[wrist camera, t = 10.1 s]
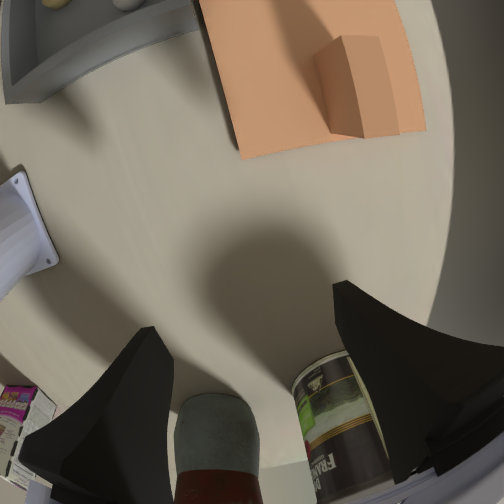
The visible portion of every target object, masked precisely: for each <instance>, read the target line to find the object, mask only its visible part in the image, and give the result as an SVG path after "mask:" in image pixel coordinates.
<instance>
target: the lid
mask: <svg viewBox="0 0 504 504" xmlns="http://www.w3.org/2000/svg"><path fill="white" fill-rule="evenodd" d="M199 2H200V6H201V10H202V13H203V17H204V20H205V24H206V27H207V31H208V35H209V38H210V42H211V45H212V49H213V53H214V56H215V60H216V64H217V67H218V71H219V75H220V79H221V82H222V86H223V90H224V93H225V97H226V101H227V105H228V109H229V112H230V116H231V120H232V124H233V128H234V131H235V135H236V139H237V143H238V147H239V151H240V155H241V159H242V160H244V159H249V158H253V157H257V156H261V155H266V154H270V153H274V152H279V151H284V150H289V149H294V148H299V147H304V146H309V145H315V144H320V143H326V142H332V141H338V140H345V139H352V138H364V139H366V138H373V137H382V136H391V135H400V133H403V132H415V131H426V125H425V118H424V111H423V105H422V99H421V93H420V88H419V83H418V78H417V74H416V69H415V65H414V61H413V57H412V53H411V50H410V46H409V43H408V39H407V36H406V33H405V30H404V27H403V24H402V21H401V18H400V15H399V12H398V10H397V7H396V4H395V2H394V0H199Z"/></svg>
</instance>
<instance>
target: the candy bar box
mask: <svg viewBox="0 0 504 504" xmlns="http://www.w3.org/2000/svg"><path fill="white" fill-rule="evenodd" d="M56 408H57V405H56V404H55V403H54V402H53V401H52V400H51V399H50V398H49V397H48V396H47V395H45V394H44V393H43V392H42V391H41V390H40V389H39V388H38V387H36V386H5V388H4V390H3V392H2V394H1V396H0V477H1V478H3V479H5V480H6V481H8V482H10V483H12V484H13V485H15V486H17V487H19V488H21V489H23V490H25V491H27V489H28V485H29V481H30V480H34V481H35V477H36V474H35V473H34V472H32V471H31V470H29V469H28V468H26V467H25V466H24V465H22V464H21V463H20V462H19V460H18V456H19V453H20V450H21V447H22V444H23V441H24V438H25V436H27V435H29V434H31V433H33V432H34V431H36V430H38V429H40V428H42V427H43V426H45V425H47V424H48V423H50V422H51V421H52V419H53V416H54V413H55V411H56Z"/></svg>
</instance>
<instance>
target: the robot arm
mask: <svg viewBox="0 0 504 504" xmlns="http://www.w3.org/2000/svg"><path fill="white" fill-rule="evenodd" d="M17 179H18V182H17ZM49 259H50V261H51V262H50V261H49ZM58 262H59V257H58V255H57V253H56V251H55V249H54V246H53V244H52V242H51V240H50V238H49V235H48V233H47V231H46V228H45V226H44V223H43V221H42V218H41V216H40V213H39V211H38V208H37V205H36V203H35V200H34V197H33V194H32V191H31V188H30V185H29V182H28V179H27V176H26V173H25V172H24V171H20V172H18V173H17V174H15V175H14V176H13V177H11V178H10V179H9V180H7V181H6V182H5V183H3V184H2V185H1V186H0V302H1V301H2V300H3V299H4V297H5V296H6V295H7V294H8V293H9V292H10V291H11V290H12V289H13V288H14V287H15V285H16V284H17V283H18V282H19V281H20V280H21V279H22V278H23V277H25V276H27V275H30V274H33V273H35V272H38V271H41V270H44V269H46V268H49V267H52V266H55V265H56V264H57V263H58ZM332 286H333V297H334V311H335V324H336V326H337V329H338V332H339V334H340V337H341V340H342V342H343V345H344V347H345V348H346V350H347V352H348V354H349V356H350V358H351V360H352V362H353V364H354V366H355V368H356V370H357V371H358V373H359V375H360V377H361V379H362V381H363V383H364V385H365V387H366V389H367V392H368V394H369V396H370V399H371V402H372V405H373V407H374V410H375V413H376V416H377V419H378V422H379V425H380V429H381V432H382V435H383V439H384V442H385V446H386V450H387V453H388V458H389V462H390V466H391V471H392V476H393V480H394V483H395V486H392V487H390V488H388V489H385V490H383V491H380V492H378V493H375V494H372V495H369V496H367V497H364V498H361V499H358V500H355V501H352V502H348V503H345V504H397V503H399V502H401V503H400V504H497V503H498V502H499V501H500V500H501V499H502V498H503V497H504V347H501V346H494V345H486V344H481V343H476V342H471V341H467V340H463V339H460V338H456V337H453V336H450V335H447V334H444V333H441V332H438V331H436V330H433V329H430V328H428V327H426V326H424V325H421V324H419V323H417V322H415V321H413V320H411V319H409V318H407V317H405V316H403V315H401V314H399V313H398V312H396V311H394V310H392V309H391V308H389V307H387V306H386V305H384V304H382V303H381V302H379V301H378V300H376V299H375V298H373V297H372V296H370V295H369V294H367V293H366V292H364V291H363V290H361V289H360V288H358V287H357V286H355V285H354V284H352V283H351V282H349V281H348V280H345V281H342V282H338V283H335V284H332ZM173 380H174V359H173V357H172V356H171V354H170V353H169V351H168V349H167V348H166V346H165V344H164V343H163V341H162V339H161V338H160V336H159V334H158V333H157V331H156V329H155V327H154V326H151V327H145V328H141V329H140V330H139V331H138V332H137V333H136V334H135V335H134V337H133V338H132V339H131V340H130V342H129V343H128V344H127V345H126V347H125V348H124V349H123V350H122V352H121V353H120V354H119V355H118V357H117V358H116V359H115V361H114V362H113V363H112V364H111V365H110V367H109V368H108V369H107V370H106V371H105V373H104V374H103V375H102V376H101V377H100V378H99V380H98V381H97V382H96V383H95V384H94V385H93V386H92V387H91V388H90V389H89V390H88V391H87V392H86V393H85V394H84V395H83V396H82V397H81V398H80V399H79V400H78V401H77V402H76V403H74V404H73V405H72V406H71V407H70V408H69V409H67V410H66V411H65V412H64V413H62V414H61V415H60V416H58V417H57V418H56V419H54V420H53V421H51V422H50V423H48V424H47V425H45V426H43V427H42V428H40V429H38V430H36V431H34V432H33V433H31V434H29V435H27V436H25V438H24V441H23V444H22V447H21V450H20V453H19V456H18V460H19V462H20V463H21V464H22V465H24V466H25V467H26V468H28V469H29V470H31V471H32V472H34V473H35V474H37V475H38V476H40V477H42V478H43V479H45V480H47V481H48V482H50V483H52V484H53V486H52V489H51V488H49V487H47V486H45V485H43V484H40V483H38V482H36V481H34V480H30V481H29V485H28V489H27V494H26V499H25V503H24V504H174V501H173V496H172V491H171V485H170V478H169V470H168V456H167V426H168V418H169V410H170V403H171V396H172V388H173Z"/></svg>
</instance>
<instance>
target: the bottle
mask: <svg viewBox="0 0 504 504" xmlns="http://www.w3.org/2000/svg"><path fill="white" fill-rule="evenodd" d="M174 451H175V463H176V471H177V482H176V490H175V498H174V504H263V501H262V496H261V491H260V486H259V481H258V474H259V454H260V438H259V433H258V429H257V425H256V421H255V417H254V415H253V413H252V411H251V408H250V407H249V405H248V404H247V403H246V402H244V401H243V400H241V399H239V398H237V397H233V396H230V395H224V394H202V395H198V396H194V397H192V398H190V399H188V400H186V402H185V403H184V404H183V406H182V408H181V410H180V412H179V414H178V418H177V422H176V426H175V431H174Z"/></svg>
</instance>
